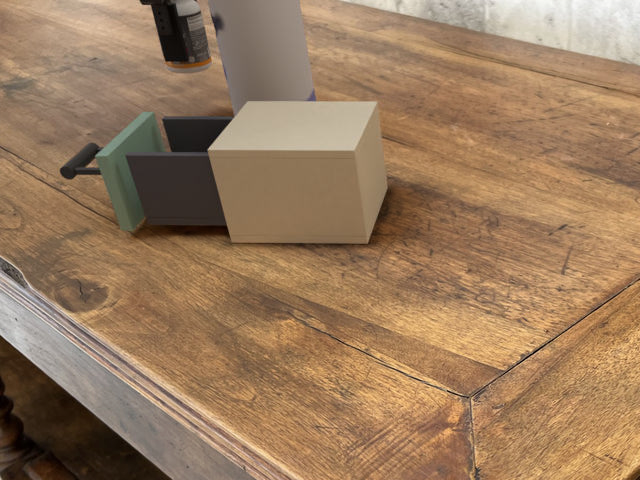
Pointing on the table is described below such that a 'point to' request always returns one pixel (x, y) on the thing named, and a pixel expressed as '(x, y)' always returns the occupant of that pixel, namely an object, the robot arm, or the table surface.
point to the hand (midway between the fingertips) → (186, 52)
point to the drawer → (158, 171)
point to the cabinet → (301, 172)
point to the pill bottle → (191, 39)
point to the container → (263, 50)
